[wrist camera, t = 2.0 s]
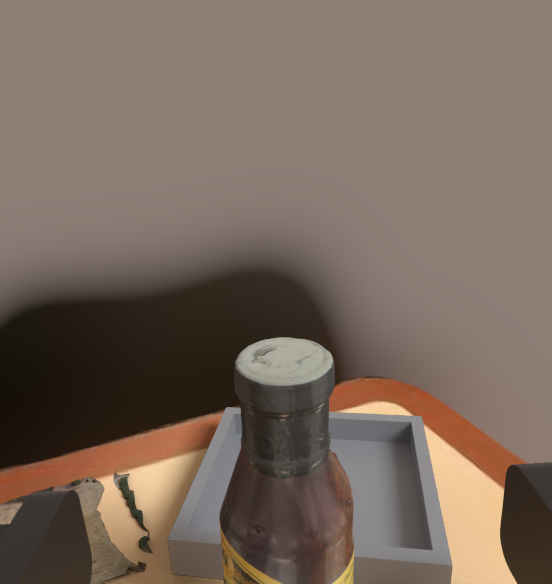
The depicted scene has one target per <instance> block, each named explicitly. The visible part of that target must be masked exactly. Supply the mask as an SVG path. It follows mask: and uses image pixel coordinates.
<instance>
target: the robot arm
mask: <svg viewBox="0 0 552 584" xmlns="http://www.w3.org/2000/svg"><path fill="white" fill-rule="evenodd" d="M500 538H501V545H502V550H503V554H504V557H505V560H506V563H507V565H508V567H509V569H510V571H511V573H512V575H513V577H514V578H515V580H516V582H517V584H552V463H551V462H550V463H534V464H517V465H510V466H509V468H508V469H507V473H506V480H505V490H504V499H503V508H502V518H501V527H500ZM91 575H92V554H91V549H90V544H89V539H88V535H87V530H86V526H85V521H84V517H83V512H82V508H81V503H80V499H79V496H78V494H77V492H76V491H74V490H65V491H49V492H34V493H31V494H29V495H28V496H27V498H26V499H25V501H24V502H23V504H22V505H21V507H20V508H19V510H18V512H17V513H16V515H15V516H14V518H13V519H12V521H11V523H10V524H0V584H90V581H91Z"/></svg>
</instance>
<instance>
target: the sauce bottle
mask: <svg viewBox="0 0 552 584" xmlns="http://www.w3.org/2000/svg"><path fill="white" fill-rule="evenodd" d="M234 371H235V381H234V385H235V391H236V393H237V395H238V398H239V399H240V401H241V403H240V404H241V423H242V436H241V449H240V452H239V455H238V458H237V461H236V464H235V467H234V470H233V473H232V476H231V479H230V482H229V485H228V488H227V491H226V494H225V497H224V500H223V503H222V506H221V509H220V515H219V522H220V534H221V547H222V557H223V563H222V564H223V569H224V584H353V567H354V545H355V544H354V535H353V530H352V529H353V509H354V500H353V494H352V489H351V485H350V481H349V479H348V476H347V475H346V471H345V470H344V469H343V467H342V465H341V463H340V462H339V460H338V458H337V455H336V453H334V452H332V451H331V450H330V448H329V447H330V436H331V434H330V432H329V397H330V395H331V394H332V392H333V389H334V362H333V358H332V355H331V354H330V353H329V352H328V351H327V350H326V349H325V348H323V347H322V346H321V345H319V344H317V343H315V342H312V341H309V340H305V339H294V338H274V339H267V340H263V341H260V342H257V343H255V344H253V345H249V346H248V347H247V348H246V349H244V350H243V351H242V352H241V353H240V354H239V356H238V357H237V359H236V361H235V369H234Z"/></svg>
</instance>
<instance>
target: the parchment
mask: <svg viewBox="0 0 552 584" xmlns="http://www.w3.org/2000/svg"><path fill="white" fill-rule="evenodd" d="M128 476H129V474H123V475H117V474H116V472H115V474H114V481H113V482H114V484H115V485H116V487H118V489H120V490H122V492H123V494H124V497H125V498H126V499H127V504H128V507H129V510H130V512H131V514H132V516H133V517H134V518H137V519H138V521H139V524H140V526H141V527H143V529H144V530H145V531H148V530H147V529H146V528H145V527H144V525H143V515H142V511H141V510H137V509H136V505H135V498H134V491H131V490H129V487H128V482H127V478H128ZM65 490H74V491H76V492H77V494H78V496H79V499H80V503H81V508H82V512H83V517H84V521H85V526H86V530H87V535H88V539H89V544H90V549H91V554H92V575H91V581H90V584H100V583H102V582H104V581H106V580H109V579H111V578H114V577H116V576H119V575H123V574H127V571H128V570H135V571H137V572H142V571H145V569H144V567H143V569H142V566H143V565H146V564H144V563H142V562H139V561H138V562H139V566H137V565H135V564H133V563H132V562H130V561H129V560H128V559H126V558H125V556H124V555H123V553H121V552H120V551H119V550H118V549H117V548H116V546H115V545H114V544H113V543H112V542H111V540H110V538H109V536H108V534H107V531H106V529H105V526H104V523H103V522H102V519H101V513H100V512H99V511H97V510H96V509H97V507H98V505H99V503H100V500H101V497H102V494H103V492H104V486H103V485H102V484H101V483H100V482H99V481H97V480H96V479H94V478H93V477H87V478H84V479H82V480H76V481H73V482H72V483H70V484H67V485H62V486H58V487H53V486H52V487H50V488H47V489H44V490H41V491H37V492H49V491H65ZM27 496H28V495H26V496H21V497H19V498H16V499H13V500H10V501H8V502H6V503H3V504H0V524H8V523H9V522H10V521H11V520H12V519H13V518H14V516H15V515H16V513H17V512H18V510H19V508H20V507H21V505H22V504H23V502H24V501H25V499H26V498H27ZM149 539H150V537H149V531H148V536H144V537H142V538H141V539H140V540H139V548H141V549H142V550H143V551H144V552H148V553H152V551H151V550H150V548H149V547H148V544H147V541H148V540H149Z"/></svg>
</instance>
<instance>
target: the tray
mask: <svg viewBox="0 0 552 584" xmlns="http://www.w3.org/2000/svg"><path fill="white" fill-rule="evenodd" d="M329 432H330V434H331V436H330V447H329V448H330V450H331V451H332V452H334V453H336V455H337V458H338V460H339V462H340V463H341V465H342V467H343V469H344V470H345V471H346V475H347V476H348V479H349V481H350V485H351V489H352V494H353V500H354V509H353V529H352V530H353V535H354V544H355V545H354V567H353V584H451V575H452V561H451V556H450V551H449V547H448V542H447V537H446V532H445V527H444V522H443V518H442V513H441V508H440V503H439V498H438V493H437V488H436V484H435V479H434V474H433V469H432V464H431V459H430V455H429V450H428V445H427V440H426V435H425V430H424V425H423V421H422V416H403V415H382V414H360V413H338V412H329ZM241 436H242V423H241V408H230V407H229V408H228V407H227V408H226V410H225V412H224V414H223V416H222V419H221V421H220V423H219V425H218V427H217V430H216V432H215V434H214V436H213V439H212V441H211V443H210V445H209V447H208V450H207V452H206V454H205V456H204V459H203V461H202V463H201V465H200V468H199V470H198V472H197V474H196V476H195V479H194V481H193V483H192V485H191V488H190V490H189V492H188V494H187V496H186V499H185V501H184V503H183V505H182V508H181V510H180V512H179V514H178V517H177V519H176V521H175V523H174V525H173V528H172V530H171V532H170V534H169V537H168V539H167V541H168V548H169V555H170V562H171V569H172V574H176V575H186V576H195V577H205V578H215V579H224V569H223V564H222V563H223V557H222V547H221V534H220V522H219V515H220V509H221V506H222V503H223V500H224V497H225V494H226V491H227V488H228V485H229V482H230V479H231V476H232V473H233V470H234V467H235V464H236V461H237V458H238V455H239V452H240V449H241Z"/></svg>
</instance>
